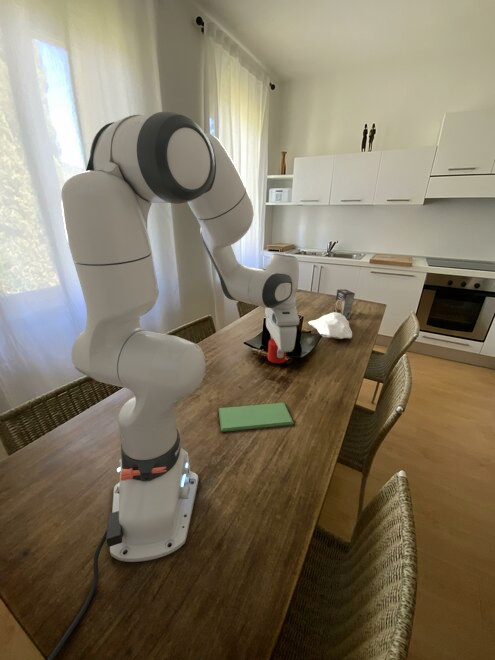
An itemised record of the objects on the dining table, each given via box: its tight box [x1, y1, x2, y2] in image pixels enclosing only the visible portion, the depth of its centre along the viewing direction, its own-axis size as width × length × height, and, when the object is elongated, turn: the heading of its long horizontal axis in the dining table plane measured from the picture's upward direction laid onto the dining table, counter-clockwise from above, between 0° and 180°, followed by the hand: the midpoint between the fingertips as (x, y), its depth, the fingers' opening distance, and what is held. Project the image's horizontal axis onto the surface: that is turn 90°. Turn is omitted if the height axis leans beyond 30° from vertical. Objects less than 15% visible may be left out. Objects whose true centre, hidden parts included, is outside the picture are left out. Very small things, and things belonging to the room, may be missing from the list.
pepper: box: [267, 338, 287, 364], centre depth 88 cm, size 6×6×7 cm
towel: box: [218, 402, 295, 433], centre depth 87 cm, size 10×22×1 cm, turn 100°
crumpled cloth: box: [307, 311, 353, 340], centre depth 148 cm, size 24×35×9 cm
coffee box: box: [333, 289, 356, 320], centre depth 171 cm, size 9×6×16 cm
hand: (276, 351), depth 88 cm, fingers closed on pepper, 5 cm apart
